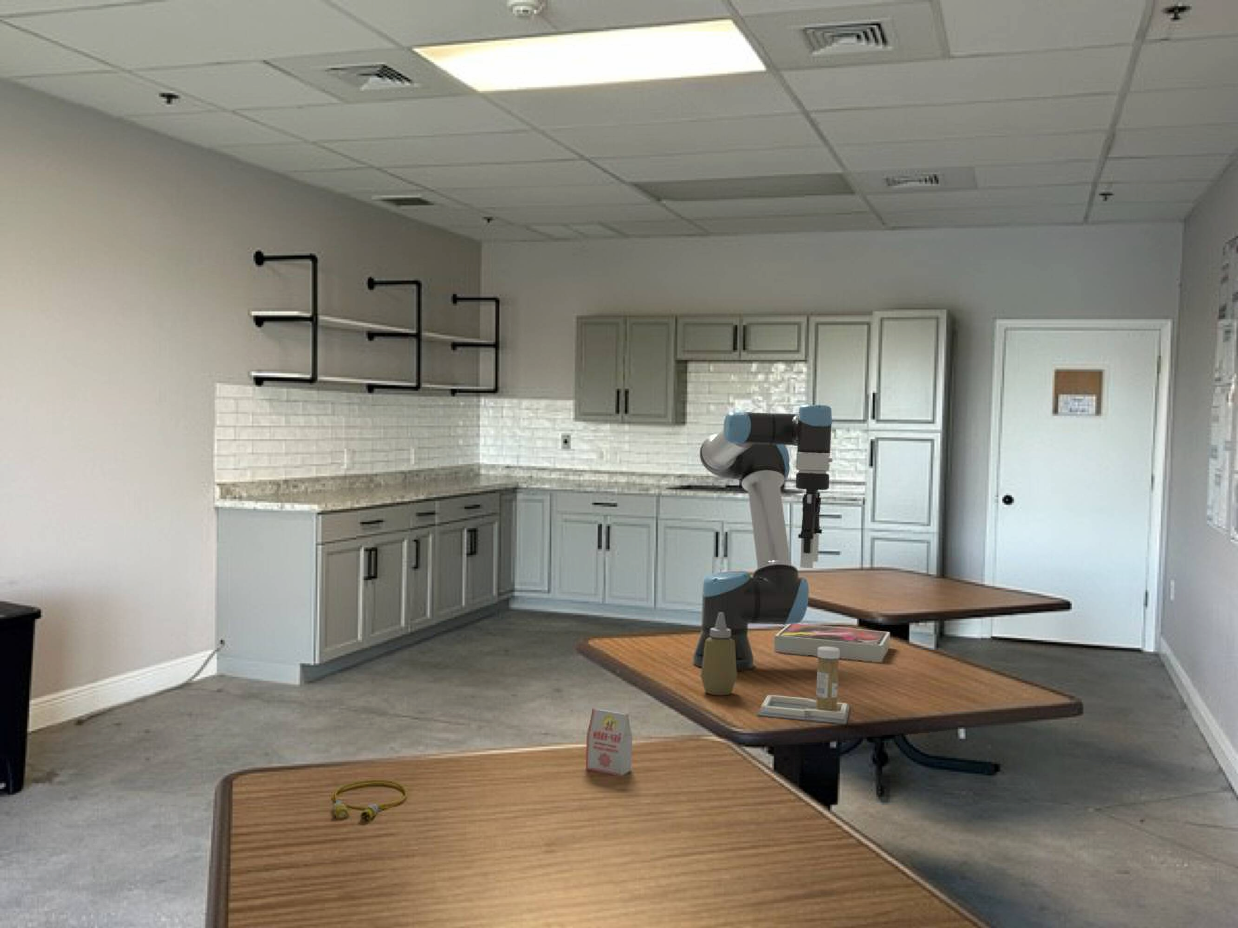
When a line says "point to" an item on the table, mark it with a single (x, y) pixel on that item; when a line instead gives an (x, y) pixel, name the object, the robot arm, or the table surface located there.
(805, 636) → the product packaging
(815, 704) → the keyhole track
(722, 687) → the squeeze bottle
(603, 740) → the white paper bag
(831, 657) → the sprinkles bottle
